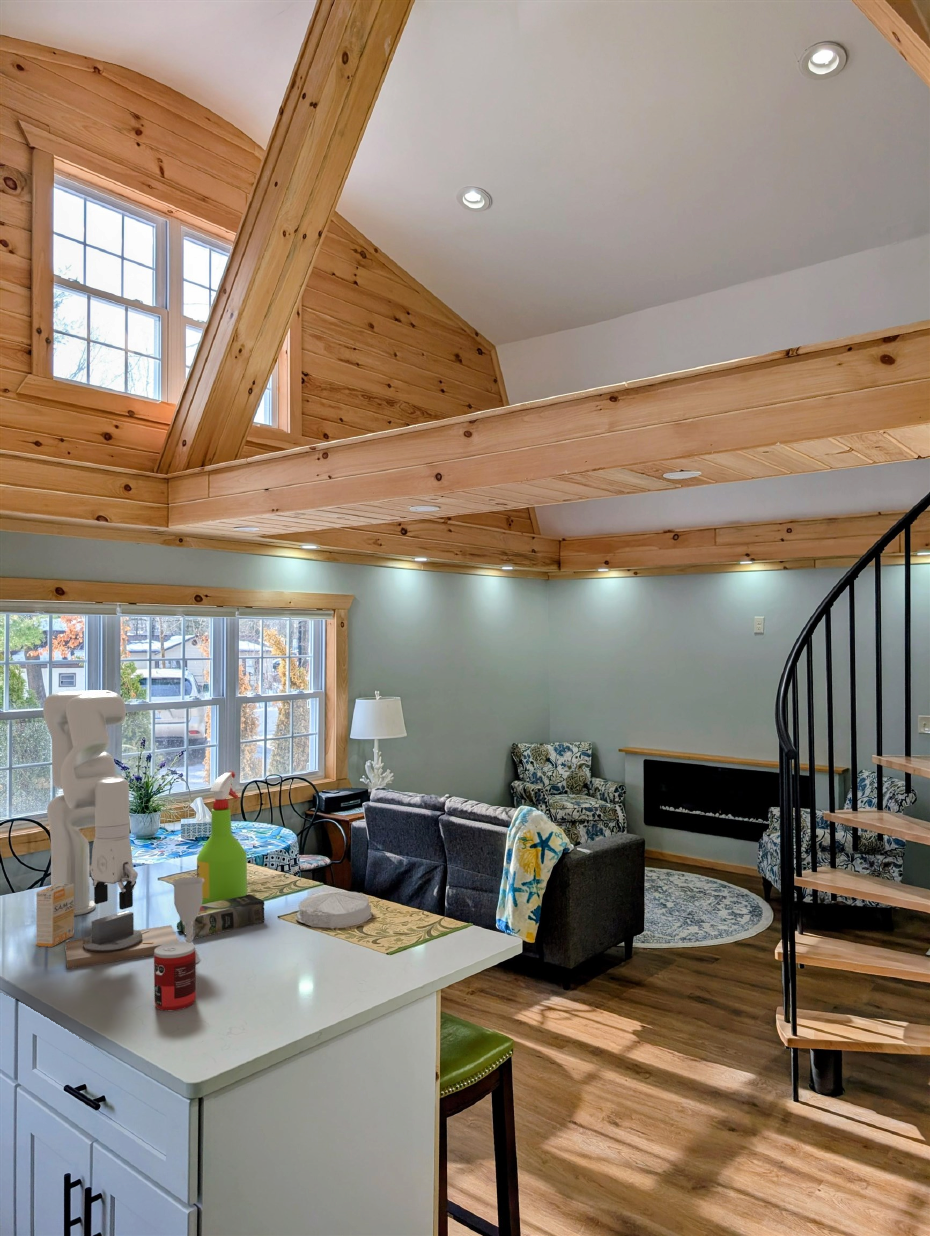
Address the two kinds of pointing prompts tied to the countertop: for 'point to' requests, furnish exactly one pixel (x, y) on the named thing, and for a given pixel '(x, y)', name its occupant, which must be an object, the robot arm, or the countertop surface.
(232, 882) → the spray bottle
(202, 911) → the juice carton
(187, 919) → the chalice
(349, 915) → the white round cake
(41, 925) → the supplement box
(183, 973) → the canned food
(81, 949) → the dial panel
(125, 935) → the dial
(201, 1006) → the countertop surface
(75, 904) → the robot arm
